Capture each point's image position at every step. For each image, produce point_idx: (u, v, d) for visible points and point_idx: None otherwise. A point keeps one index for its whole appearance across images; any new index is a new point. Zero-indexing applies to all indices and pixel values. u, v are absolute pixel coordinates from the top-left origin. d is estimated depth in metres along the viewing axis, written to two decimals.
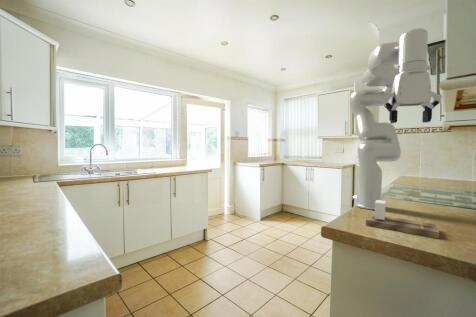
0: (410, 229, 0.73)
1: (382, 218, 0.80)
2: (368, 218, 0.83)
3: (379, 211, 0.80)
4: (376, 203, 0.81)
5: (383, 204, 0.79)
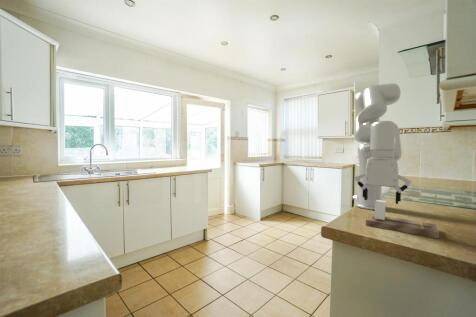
0: (410, 229, 0.73)
1: (382, 218, 0.80)
2: (368, 218, 0.83)
3: (379, 211, 0.80)
4: (376, 203, 0.81)
5: (383, 204, 0.79)
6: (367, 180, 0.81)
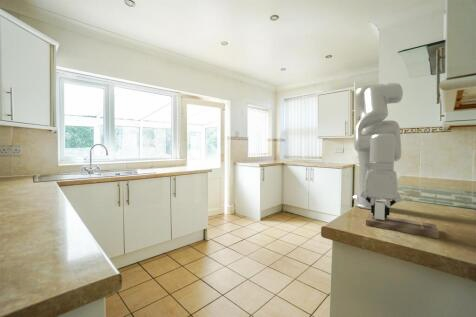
0: (410, 229, 0.73)
1: (382, 218, 0.80)
2: (368, 218, 0.83)
3: (379, 211, 0.80)
4: (376, 203, 0.81)
5: (383, 204, 0.79)
6: (366, 192, 0.82)
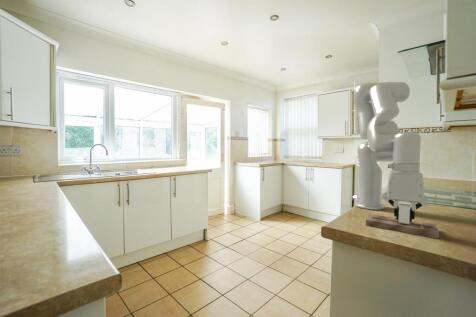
0: (410, 229, 0.73)
1: (407, 222, 0.75)
2: (368, 218, 0.83)
3: (403, 215, 0.76)
4: (400, 206, 0.76)
5: (408, 207, 0.75)
6: (390, 194, 0.78)
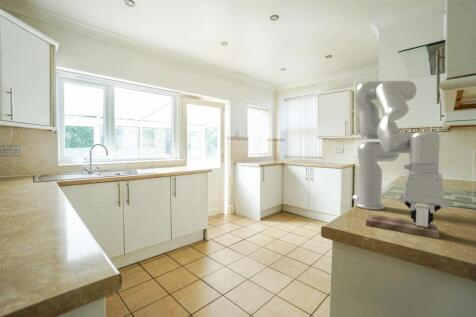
0: (410, 229, 0.73)
1: (425, 225, 0.72)
2: (368, 218, 0.83)
3: (421, 218, 0.73)
4: (418, 208, 0.73)
5: (426, 210, 0.72)
6: (407, 196, 0.75)
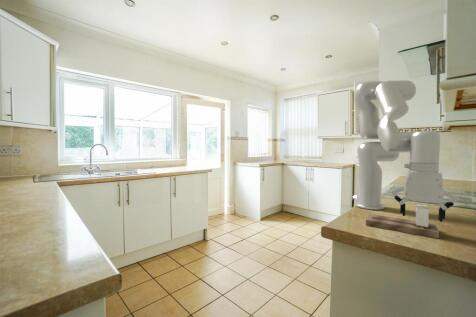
0: (410, 229, 0.73)
1: (425, 225, 0.72)
2: (368, 218, 0.83)
3: (422, 218, 0.73)
4: (418, 208, 0.73)
5: (427, 210, 0.72)
6: (407, 195, 0.75)
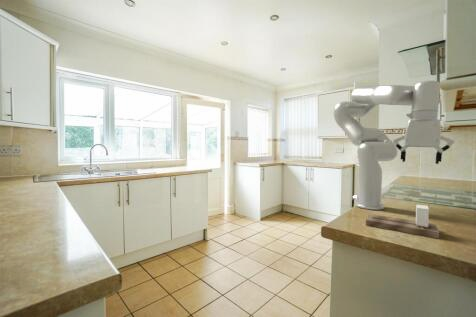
0: (410, 229, 0.73)
1: (425, 225, 0.72)
2: (368, 218, 0.83)
3: (422, 218, 0.73)
4: (418, 208, 0.73)
5: (427, 210, 0.72)
6: (407, 142, 0.82)
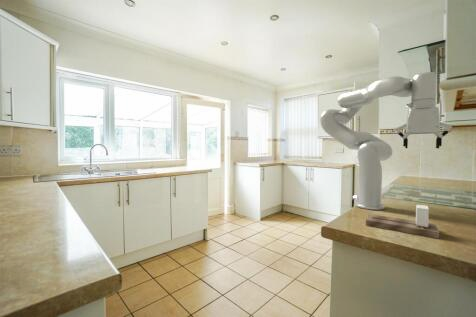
0: (410, 229, 0.73)
1: (425, 225, 0.72)
2: (368, 218, 0.83)
3: (422, 218, 0.73)
4: (418, 208, 0.73)
5: (427, 210, 0.72)
6: (409, 129, 0.88)
